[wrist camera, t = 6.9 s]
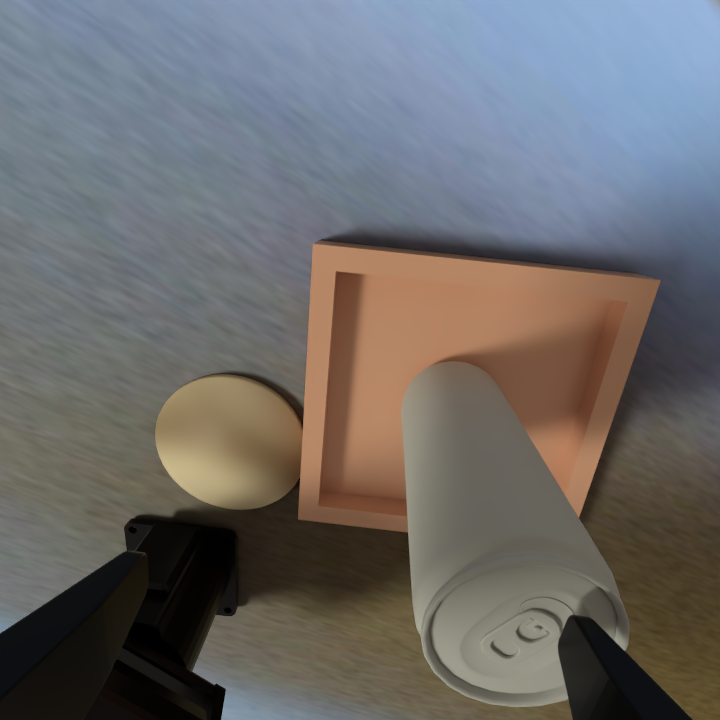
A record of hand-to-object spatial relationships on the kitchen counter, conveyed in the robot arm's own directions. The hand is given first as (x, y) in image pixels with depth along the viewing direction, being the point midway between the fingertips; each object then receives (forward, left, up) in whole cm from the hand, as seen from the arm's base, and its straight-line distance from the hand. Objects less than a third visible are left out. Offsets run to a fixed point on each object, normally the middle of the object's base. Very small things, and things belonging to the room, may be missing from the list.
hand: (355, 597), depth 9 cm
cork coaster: (-5, +7, -13) cm, 15 cm away
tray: (-1, -4, -13) cm, 13 cm away
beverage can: (-1, -4, -12) cm, 13 cm away
